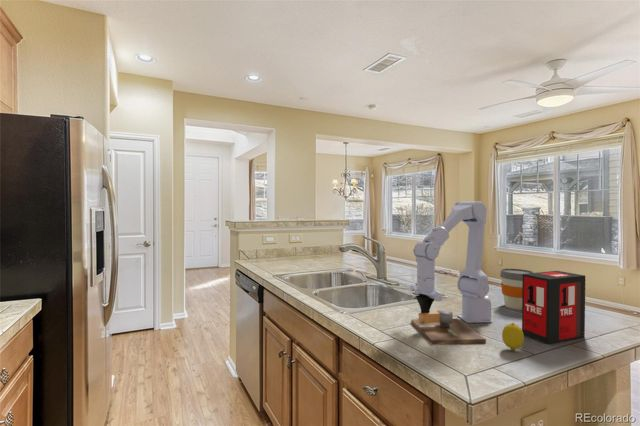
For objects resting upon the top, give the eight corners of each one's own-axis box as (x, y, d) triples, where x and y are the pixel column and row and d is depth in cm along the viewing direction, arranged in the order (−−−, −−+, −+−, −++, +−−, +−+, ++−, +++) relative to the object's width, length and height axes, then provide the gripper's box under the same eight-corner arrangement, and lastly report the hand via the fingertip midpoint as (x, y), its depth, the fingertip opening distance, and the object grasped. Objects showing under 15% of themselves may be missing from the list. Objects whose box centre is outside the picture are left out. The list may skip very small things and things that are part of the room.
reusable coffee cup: (534, 313, 133) (535, 275, 133) (498, 307, 140) (499, 272, 139) (534, 305, 144) (534, 270, 144) (500, 300, 150) (501, 267, 150)
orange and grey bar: (447, 318, 117) (447, 309, 117) (455, 323, 112) (455, 314, 112) (415, 320, 115) (415, 311, 115) (422, 325, 110) (422, 316, 110)
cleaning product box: (548, 344, 102) (549, 279, 102) (521, 334, 111) (522, 273, 110) (584, 337, 108) (585, 275, 108) (556, 328, 116) (557, 270, 116)
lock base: (457, 321, 122) (457, 314, 122) (485, 342, 103) (485, 334, 103) (411, 322, 121) (411, 315, 121) (431, 344, 102) (431, 335, 102)
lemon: (497, 346, 101) (498, 320, 101) (515, 346, 101) (515, 319, 101) (509, 354, 95) (510, 326, 95) (528, 354, 96) (528, 326, 96)
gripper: (403, 273, 120) (403, 311, 120) (429, 282, 106) (429, 325, 106) (420, 272, 122) (419, 309, 122) (447, 280, 108) (447, 322, 109)
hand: (425, 316), depth 114 cm, fingers closed, pressing on orange and grey bar
